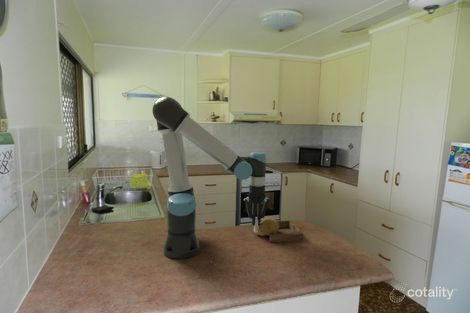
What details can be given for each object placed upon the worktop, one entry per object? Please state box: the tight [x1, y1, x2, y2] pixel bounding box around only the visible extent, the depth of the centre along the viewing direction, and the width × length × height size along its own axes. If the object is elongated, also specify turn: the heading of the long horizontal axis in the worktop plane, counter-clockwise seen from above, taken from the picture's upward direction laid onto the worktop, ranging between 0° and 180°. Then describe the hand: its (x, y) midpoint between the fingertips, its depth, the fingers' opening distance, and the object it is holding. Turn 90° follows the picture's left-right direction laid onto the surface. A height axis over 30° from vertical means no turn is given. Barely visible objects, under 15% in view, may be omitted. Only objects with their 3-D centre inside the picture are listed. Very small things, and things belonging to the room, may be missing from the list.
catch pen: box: [268, 219, 304, 243], centre depth 140 cm, size 18×16×4 cm
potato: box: [258, 216, 280, 237], centre depth 139 cm, size 10×14×8 cm
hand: (255, 231), depth 138 cm, fingers closed
